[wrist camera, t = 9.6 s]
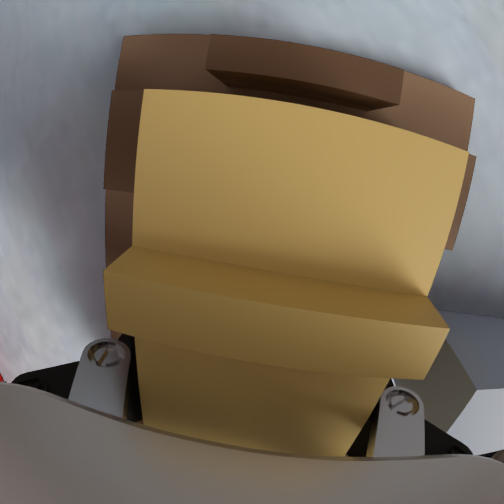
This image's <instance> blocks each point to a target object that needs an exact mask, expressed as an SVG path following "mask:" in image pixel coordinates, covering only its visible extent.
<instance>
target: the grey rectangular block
mask: <svg viewBox="0 0 504 504" xmlns="http://www.w3.org/2000/svg"><path fill="white" fill-rule="evenodd" d="M437 311H438V312H439V314H440V315H441V316H442V318H443V319H444V321H445V322H446V324H447V325H448V326H449V328H450V330H449V332H448V334H447V337H446V339H445V341H444V343H443V345H442V347H441V349H440V351H439V352H438V354H437V356H436V358H435V360H434V362H433V364H432V366H431V368H430V369H429V371H428V373H427V375H426V377H425V378H424V380H414V379H394V378H393V379H394V382H395V384H396V386H399V387H404V388H407V389H410V390H411V391H413V392H415V393H416V394H417V395H418V396H419V397H420V399H421V400H422V402H423V406H424V419H425V420H427V421H429V422H430V423H432V424H433V425H435V426H436V427H438V428H440V429H441V430H443V431H444V432H446V433H447V434H449V435H451V436H452V437H454V438H455V439H457V440H459V441H460V442H462V443H463V444H465V445H466V446H467V447H469V449H470V450H471V451H472V453H473V455H481V454H486V453H491V452H495V451H499V450H504V318H498V317H489V316H481V315H473V314H465V313H457V312H450V311H442V310H437Z"/></svg>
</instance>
